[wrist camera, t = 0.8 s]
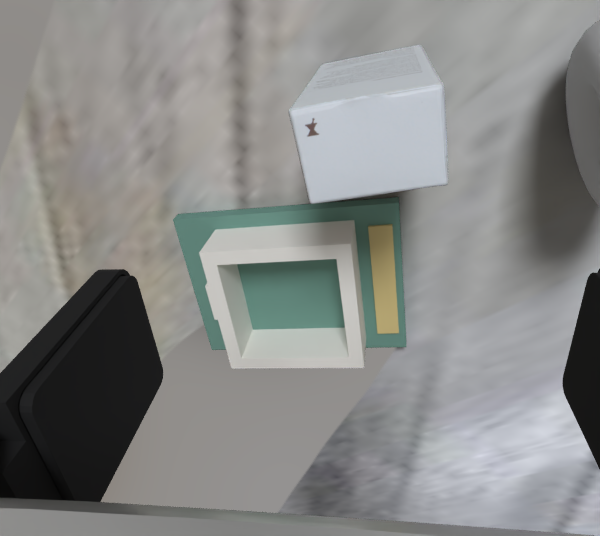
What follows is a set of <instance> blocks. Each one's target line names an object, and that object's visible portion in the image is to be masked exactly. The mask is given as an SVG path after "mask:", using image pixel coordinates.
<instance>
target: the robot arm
mask: <svg viewBox="0 0 600 536" xmlns="http://www.w3.org/2000/svg"><path fill="white" fill-rule="evenodd" d="M162 379H163V368H162V364H161V361H160V357H159V354H158V350H157V347H156V343H155V340H154V337H153V333H152V330H151V326H150V323H149V319H148V316H147V313H146V309H145V306H144V302H143V299H142V295H141V292H140V289H139V285H138V282H137V279H136V278H135V277H134V276H130V275H129V273H128V272H127V271H126V270H124V269H121V270H98V271H96V272H95V273H94V274H93V275H92V276H91V277H90V278H89V279H88V280H87V282H86V283H85V284H84V285H83V286H82V287H81V288H80V289H79V290H78V291H77V292H76V293H75V294H74V295H73V296H72V298H71V299H70V300H69V301H68V302H67V303H66V304H65V305H64V306H63V307H62V308H61V309H60V310H59V311H58V312H57V313H56V315H55V316H54V317H53V318H52V319H51V320H50V321H49V322H48V323H47V324H46V325H45V326H44V327H43V328H42V329H41V331H40V332H39V333H38V334H37V335H36V336H35V337H34V338H33V339H32V340H31V341H30V342H29V343H28V344H27V345H26V346H25V348H24V349H23V350H22V351H21V352H20V353H19V354H18V355H17V356H16V357H15V358H14V359H13V360H12V361H11V362H10V364H9V365H8V366H7V367H6V368H5V369H4V370H3V371H2V372H1V373H0V536H594V535H582V534H568V533H555V532H541V531H527V530H513V529H499V528H485V527H471V526H457V525H443V524H429V523H416V522H401V521H386V520H371V519H357V518H342V517H327V516H312V515H297V514H281V513H266V512H251V511H236V510H219V509H204V508H203V509H202V508H187V507H171V506H153V505H137V504H121V503H105V502H100V501H101V499H102V497H103V495H104V493H105V492H106V490H107V488H108V486H109V484H110V482H111V480H112V478H113V476H114V474H115V472H116V470H117V468H118V466H119V464H120V462H121V460H122V459H123V457H124V455H125V453H126V451H127V449H128V447H129V445H130V443H131V441H132V439H133V437H134V435H135V433H136V431H137V430H138V428H139V426H140V424H141V422H142V420H143V418H144V416H145V414H146V412H147V410H148V408H149V406H150V404H151V403H152V401H153V399H154V397H155V395H156V393H157V391H158V389H159V387H160V385H161V382H162ZM563 390H564V394H565V396H566V399H567V401H568V403H569V405H570V407H571V409H572V411H573V413H574V416H575V418H576V420H577V422H578V424H579V426H580V428H581V430H582V433H583V435H584V437H585V439H586V441H587V443H588V445H589V447H590V450H591V452H592V454H593V456H594V458H595V460H596V462H597V464H598V467H599V469H600V269H599V271H598V273H592V274H590V275H589V277H588V280H587V283H586V287H585V291H584V295H583V299H582V303H581V307H580V311H579V315H578V319H577V323H576V327H575V331H574V335H573V339H572V343H571V347H570V351H569V355H568V359H567V363H566V367H565V371H564V375H563Z"/></svg>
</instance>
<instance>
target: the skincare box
mask: <svg viewBox="0 0 600 536" xmlns="http://www.w3.org/2000/svg"><path fill="white" fill-rule="evenodd" d="M289 117H290V121H291V125H292V129H293V133H294V137H295V142H296V146H297V150H298V154H299V159H300V163H301V168H302V172H303V176H304V181H305V185H306V189H307V194H308V198H309V202H310V203H311V204H316V203H324V202H331V201H338V200H345V199H353V198H360V197H367V196H373V195H380V194H386V193H392V192H399V191H406V190H413V189H420V188H427V187H434V186H444V185H447V184H448V151H447V127H446V106H445V89H444V84H443V82H442V81H441V79H440V78H439V76H438V74H437V73H436V71H435V69H434V67H433V66H432V64H431V62H430V60H429V58H428V56H427V54H426V52H425V51H424V49H423V47H422V46H421V45H416V46H411V47H406V48H400V49H395V50H390V51H386V52H380V53H375V54H370V55H365V56H360V57H355V58H350V59H346V60H341V61H336V62H331V63H326V64H322V65H321V66H320V68H319V69H318V70H317V72H316V73H315V75H314V76H313V78H312V79H311V80H310V82H309V83H308V84H307V86H306V87H305V89H304V90H303V92H302V93H301V94H300V96H299V97H298V98H297V100H296V101H295V103H294V104H293V105H292V107H291V108H290V110H289Z"/></svg>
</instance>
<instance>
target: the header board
mask: <svg viewBox="0 0 600 536" xmlns="http://www.w3.org/2000/svg"><path fill="white" fill-rule="evenodd" d="M173 221H174V225H175V228H176V231H177V235H178V238H179V241H180V245H181V248H182V251H183V255H184V258H185V261H186V265H187V268H188V271H189V275H190V278H191V281H192V285H193V288H194V291H195V295H196V298H197V301H198V305H199V308H200V311H201V315H202V318H203V321H204V325H205V328H206V331H207V335H208V338H209V342H210V345H211V348H212V350H227V354H228V358H229V361H230V365H231V368H232V369H256V368H257V369H259V368H260V369H264V368H265V369H266V368H267V369H273V368H364V364H365V349H366V348H372V347H406V328H405V309H404V290H403V271H402V252H401V233H400V214H399V197H393V198H380V199H367V200H355V201H342V202H329V203H316V204H303V205H290V206H277V207H264V208H251V209H238V210H225V211H212V212H200V213H187V214H178V215H177V216H176V217H175V218H174V219H173Z"/></svg>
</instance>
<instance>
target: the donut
mask: <svg viewBox="0 0 600 536" xmlns="http://www.w3.org/2000/svg"><path fill="white" fill-rule="evenodd" d="M566 109H567V119H568V126H569V133H570V138H571V142H572V147H573V151H574V155H575V158H576V162H577V165H578V168H579V171H580V174H581V176H582V179H583V181H584V183H585V186H586V188H587V190H588V192H589V193H590V195H591V196H592V198H593V199H594V201H595V202H596V203H597V204H598V206H599V207H600V20H599V21H597V22H595V23H594V24H593V25H592V26H591V27H590V28H588V29H587V30H586V31H585V33H584V34H583V36H582V37H581V39H580V40H579V42H578V43H577V45H576V46H575V48H574V50H573V51H572V54H571V58H570V62H569V66H568V70H567V75H566Z"/></svg>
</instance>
